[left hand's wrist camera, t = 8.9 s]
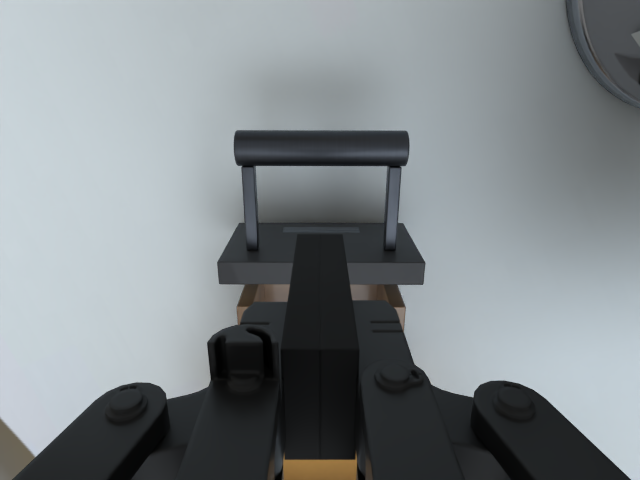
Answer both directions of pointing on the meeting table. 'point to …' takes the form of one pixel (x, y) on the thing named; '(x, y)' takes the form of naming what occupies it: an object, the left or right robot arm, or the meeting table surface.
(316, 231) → the drawer
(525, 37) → the meeting table surface
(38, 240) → the meeting table surface
